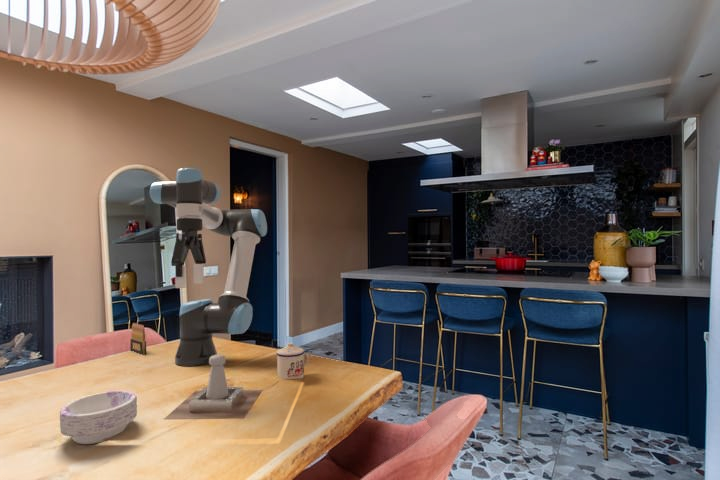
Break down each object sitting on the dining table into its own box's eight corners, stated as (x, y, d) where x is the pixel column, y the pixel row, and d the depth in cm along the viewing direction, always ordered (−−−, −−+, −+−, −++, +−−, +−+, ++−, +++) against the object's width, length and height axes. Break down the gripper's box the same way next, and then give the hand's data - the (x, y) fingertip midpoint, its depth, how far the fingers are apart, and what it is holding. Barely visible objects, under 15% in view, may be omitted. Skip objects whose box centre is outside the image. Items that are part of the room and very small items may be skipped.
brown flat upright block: (130, 350, 174) (130, 322, 174) (134, 349, 176) (134, 321, 176) (141, 354, 168) (141, 325, 168) (146, 353, 169) (146, 324, 169)
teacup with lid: (289, 384, 129) (288, 347, 130) (271, 378, 135) (270, 343, 135) (316, 375, 139) (316, 340, 139) (298, 370, 144) (298, 337, 145)
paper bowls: (42, 446, 90) (42, 410, 91) (102, 418, 105) (102, 387, 105) (96, 455, 86) (96, 417, 87) (151, 424, 101) (151, 392, 101)
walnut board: (195, 394, 122) (195, 390, 122) (262, 393, 122) (262, 389, 122) (163, 423, 102) (163, 419, 102) (243, 422, 102) (243, 418, 102)
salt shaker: (224, 407, 109) (224, 358, 109) (202, 407, 109) (202, 358, 109) (231, 399, 115) (231, 352, 115) (211, 399, 115) (210, 352, 115)
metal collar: (204, 396, 117) (204, 387, 117) (243, 395, 117) (243, 386, 117) (189, 411, 106) (189, 402, 106) (231, 411, 106) (231, 401, 106)
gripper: (184, 215, 116) (185, 289, 116) (215, 220, 141) (215, 282, 141) (158, 215, 116) (158, 290, 116) (193, 220, 141) (194, 282, 141)
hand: (189, 285), depth 128 cm, fingers open, 13 cm apart
